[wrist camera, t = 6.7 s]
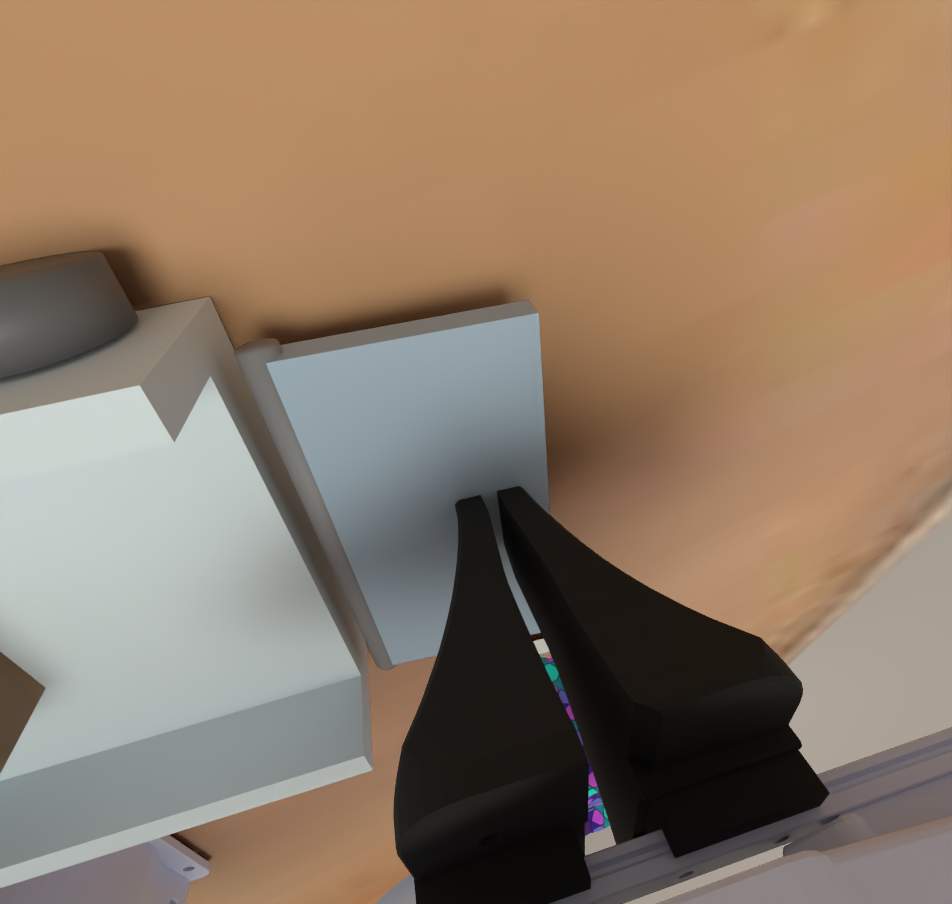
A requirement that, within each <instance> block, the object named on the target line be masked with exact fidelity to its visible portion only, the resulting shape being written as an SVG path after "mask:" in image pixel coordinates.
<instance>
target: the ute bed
mask: <svg viewBox="0 0 952 904" xmlns="http://www.w3.org/2000/svg"><path fill="white" fill-rule="evenodd" d="M0 652H2V653H3V654H4V655H5V656H7V657H8V658H9V659H10V660H12V661H13V662H14V663H15V664H17V665H18V666H19V667H20V668H22V669H23V670H24V671H25V672H27V673H28V674H29V675H30V676H32V677H33V678H34V679H35V680H37V681H38V682H39V683H40V684H42V685H43V686H44V687H45V688H46V689H45V690H44V692H43V694H42V696H41V698H40V700H39V702H38V704H37V706H36V707H35V709H34V711H33V713H32V715H31V717H30V719H29V721H28V723H27V724H26V726H25V728H24V730H23V732H22V734H21V736H20V738H19V739H18V741H17V743H16V745H15V747H14V749H13V751H12V753H11V755H10V756H9V758H8V760H7V762H6V764H5V766H4V768H3V770H2V772H1V773H0V888H3V887H6V886H9V885H12V884H15V883H18V882H22V881H25V880H28V879H31V878H34V877H37V876H40V875H44V874H47V873H50V872H53V871H56V870H59V869H63V868H66V867H69V866H72V865H75V864H78V863H82V862H85V861H88V860H91V859H94V858H97V857H100V856H104V855H107V854H110V853H113V852H116V851H119V850H123V849H126V848H129V847H132V846H135V845H138V844H142V843H145V842H148V841H151V840H154V839H157V838H161V837H164V836H167V835H170V834H173V833H176V832H179V831H183V830H186V829H189V828H192V827H195V826H198V825H202V824H205V823H208V822H211V821H214V820H217V819H221V818H224V817H227V816H230V815H233V814H236V813H240V812H243V811H246V810H249V809H252V808H255V807H258V806H262V805H265V804H268V803H271V802H274V801H277V800H281V799H284V798H287V797H290V796H293V795H296V794H300V793H303V792H306V791H309V790H312V789H315V788H319V787H322V786H325V785H328V784H331V783H334V782H337V781H341V780H344V779H347V778H350V777H353V776H356V775H360V774H363V773H366V772H369V771H372V770H373V761H372V741H371V721H370V701H369V681H368V661H367V644H366V641H365V639H364V637H363V635H362V633H361V631H360V628H359V626H358V624H357V622H356V620H355V617H354V615H353V613H352V611H351V609H350V607H349V604H348V602H347V600H346V598H345V596H344V593H343V591H342V589H341V587H340V585H339V583H338V580H337V578H336V576H335V574H334V572H333V569H332V567H331V565H330V563H329V561H328V558H327V556H326V554H325V552H324V550H323V548H322V545H321V543H320V541H319V539H318V537H317V534H316V532H315V530H314V528H313V526H312V524H311V521H310V519H309V517H308V515H307V513H306V510H305V508H304V506H303V504H302V502H301V500H300V497H299V495H298V493H297V491H296V489H295V486H294V484H293V482H292V480H291V478H290V475H289V473H288V471H287V469H286V467H285V465H284V462H283V460H282V458H281V456H280V454H279V451H278V449H277V447H276V445H275V443H274V441H273V438H272V436H271V434H270V432H269V430H268V427H267V425H266V423H265V421H264V419H263V417H262V414H261V412H260V410H259V408H258V406H257V403H256V401H255V399H254V397H253V395H252V392H251V390H250V388H249V386H248V384H247V382H246V379H245V377H244V375H243V373H242V371H241V368H240V366H239V364H238V362H237V360H236V358H235V355H234V348H233V346H232V344H231V342H230V340H229V337H228V335H227V333H226V331H225V329H224V326H223V324H222V322H221V320H220V318H219V315H218V313H217V311H216V309H215V307H214V304H213V302H212V300H211V298H210V297H205V298H200V299H195V300H190V301H185V302H180V303H174V304H169V305H164V306H159V307H154V308H149V309H144V310H138V311H135V310H134V309H133V307H132V305H131V303H130V301H129V300H128V298H127V296H126V294H125V292H124V291H123V289H122V287H121V285H120V283H119V282H118V280H117V278H116V276H115V274H114V273H113V271H112V269H111V267H110V265H109V264H108V262H107V260H106V258H105V256H104V255H103V253H102V252H99V251H85V252H75V253H67V254H60V255H54V256H48V257H42V258H37V259H31V260H26V261H21V262H17V263H12V264H7V265H3V266H0Z"/></svg>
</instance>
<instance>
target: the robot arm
mask: <svg viewBox="0 0 952 904" xmlns="http://www.w3.org/2000/svg"><path fill="white" fill-rule="evenodd" d="M497 497H498V504H499V511H500V518H501V526H502V533H503V540H504V546H505V549H506V552H507V555H508V558H509V561H510V564H511V567H512V570H513V573H514V576H515V578H516V580H517V583H518V585H519V587H520V589H521V591H522V593H523V596H524V598H525V600H526V602H527V604H528V606H529V608H530V610H531V613H532V615H533V617H534V619H535V621H536V623H537V625H538V627H539V630H540V632H541V634H542V636H543V638H544V640H545V642H546V644H547V647H548V649H549V651H550V654H551V656H552V658H553V661H554V663H555V666H556V668H557V671H558V674H559V677H560V679H561V682H562V685H563V688H564V690H565V693H566V696H567V699H568V702H569V705H570V707H571V710H572V713H573V716H574V719H575V722H576V725H577V727H578V730H579V733H580V736H581V739H582V742H583V745H584V748H585V751H586V754H587V757H588V760H589V763H590V765H591V768H592V771H593V774H594V777H595V780H596V783H597V786H598V789H599V792H600V796H601V799H602V802H603V805H604V808H605V811H606V814H607V817H608V820H609V823H610V826H611V829H612V832H613V835H614V839H615V842H616V845H615V846H612V847H609V848H606V849H603V850H601V851H598V852H595V853H592V854H589V855H586V856H585V823H586V822H588V791H589V763H588V760H587V757H586V754H585V752H584V749H583V746H582V744H581V741H580V739H579V736H578V734H577V731H576V728H575V726H574V724H573V723H572V721H571V719H570V717H569V715H568V713H567V711H566V709H565V707H564V705H563V703H562V701H561V699H560V697H559V695H558V693H557V691H556V689H555V687H554V685H553V683H552V681H551V679H550V676H549V674H548V672H547V670H546V668H545V666H544V664H543V662H542V659H541V657H540V655H539V653H538V651H537V649H536V646H535V644H534V642H533V640H532V638H531V635H530V633H529V631H528V628H527V626H526V624H525V622H524V619H523V617H522V615H521V612H520V610H519V608H518V605H517V603H516V600H515V598H514V596H513V593H512V591H511V588H510V586H509V584H508V581H507V578H506V575H505V572H504V568H503V564H502V561H501V557H500V553H499V549H498V545H497V541H496V537H495V534H494V530H493V526H492V522H491V518H490V515H489V511H488V509H487V507H486V505H485V503H484V501H483V499H482V497H481V495H478V496H474V497H470V498H466V499H462V500H458V502H457V503H456V504H455V509H456V513H457V518H458V551H457V564H456V572H455V579H454V586H453V593H452V598H451V603H450V608H449V613H448V617H447V622H446V626H445V630H444V633H443V637H442V641H441V644H440V648H439V651H438V655H437V658H436V661H435V664H434V667H433V670H432V673H431V676H430V678H429V681H428V684H427V687H426V690H425V693H424V695H423V698H422V701H421V703H420V706H419V708H418V711H417V713H416V715H415V718H414V720H413V722H412V725H411V727H410V729H409V732H408V734H407V736H406V739H405V741H404V743H403V746H402V750H401V755H400V761H399V767H398V772H397V779H396V786H395V795H394V829H395V842H396V850H397V854H398V856H399V858H400V859H401V861H402V862H403V863H404V865H405V866H406V868H407V869H408V870H409V872H410V873H411V875H412V876H413V877H414V883H415V894H416V904H623V903H626V902H629V901H632V900H634V899H637V898H640V897H643V896H645V895H648V894H651V893H654V892H656V891H659V890H662V889H664V888H667V887H670V886H673V885H675V884H678V883H681V882H683V881H686V880H689V879H692V878H694V877H697V876H700V875H703V874H705V873H708V872H711V871H714V870H716V869H719V868H722V867H724V866H727V865H730V864H732V863H735V862H738V861H741V860H744V859H746V858H749V857H752V856H754V855H757V854H760V853H762V852H765V851H768V850H771V849H773V848H776V847H779V846H782V845H784V844H787V843H790V842H792V843H790V844H788V845H786V846H785V847H784V848H783V857H781V858H778V859H776V860H773V861H771V862H768V863H765V864H762V865H759V866H757V867H754V868H751V869H749V870H746V871H743V872H741V873H738V874H735V875H733V876H730V877H727V878H724V879H722V880H719V881H717V882H714V883H711V884H708V885H705V886H703V887H700V888H697V889H695V890H692V891H689V892H686V893H684V894H681V895H678V896H676V897H673V898H670V899H668V900H665V901H662V902H660V903H657V904H952V727H951V728H948V729H945V730H942V731H939V732H937V733H934V734H931V735H928V736H925V737H922V738H919V739H917V740H914V741H911V742H908V743H905V744H902V745H899V746H897V747H894V748H891V749H888V750H885V751H882V752H880V753H877V754H874V755H871V756H868V757H865V758H863V759H860V760H857V761H854V762H851V763H848V764H845V765H843V766H840V767H837V768H834V769H831V770H828V771H826V772H823V773H820V774H817V775H816V773H815V772H814V771H813V769H812V768H811V767H810V765H809V764H808V763H807V761H806V760H805V758H804V757H803V756H802V754H801V753H800V752H799V750H798V749H800V748H801V747H802V744H801V742H800V740H799V738H798V737H797V736H796V734H795V733H794V732H793V730H792V729H791V728H790V726H789V725H788V724H789V722H790V720H791V719H792V716H793V715H794V713H795V711H796V709H797V707H798V705H799V703H800V701H801V697H802V694H803V688H802V683H801V681H800V680H799V679H798V678H797V676H796V675H795V674H794V673H793V672H792V671H791V669H790V668H789V667H788V666H787V664H786V663H785V662H784V661H783V660H782V659H781V658H780V657H779V656H778V654H777V653H775V652H774V651H773V650H772V649H771V648H770V647H769V646H768V645H767V644H766V643H765V642H764V641H763V640H762V638H760V637H757V636H755V635H752V634H750V633H747V632H745V631H742V630H740V629H737V628H734V627H732V626H729V625H727V624H724V623H722V622H719V621H717V620H714V619H712V618H709V617H707V616H705V615H703V614H701V613H698V612H696V611H694V610H692V609H690V608H688V607H685V606H683V605H682V604H680V603H678V602H676V601H674V600H672V599H670V598H668V597H666V596H664V595H662V594H661V593H659V592H657V591H655V590H653V589H651V588H649V587H647V586H646V585H644V584H642V583H641V582H639V581H637V580H636V579H634V578H632V577H631V576H629V575H627V574H626V573H624V572H623V571H621V570H620V569H618V568H617V567H615V566H614V565H612V564H611V563H609V562H608V561H606V560H605V559H603V558H602V557H601V556H599V555H598V554H597V553H595V552H594V551H593V550H591V549H590V548H589V547H587V546H586V545H585V544H583V543H582V542H581V541H580V540H578V539H577V538H576V537H575V536H573V535H572V534H571V533H570V532H569V531H568V530H566V529H565V528H564V527H563V526H562V525H561V524H559V523H558V522H557V521H556V520H555V519H554V518H553V517H552V516H550V515H549V514H548V513H547V512H546V511H545V510H544V509H543V508H542V507H541V506H540V505H539V504H538V503H537V502H536V501H535V500H534V499H533V498H532V497H531V496H530V495H529V494H528V493H527V492H526V491H525V490H524V488H522V487H520V486H516V487H512V488H508V489H503V490H499V491H497ZM793 841H794V842H793ZM210 867H211V864H210V862H208V861H207V860H205V859H204V858H202V857H201V856H199V855H198V854H197V853H195V852H194V851H192V850H191V849H189V848H188V847H186V846H185V845H183V844H182V843H180V842H179V841H177V840H176V839H174V838H173V837H172V836H170V835H167V836H164V837H161V838H157V839H154V840H151V841H148V842H145V843H142V844H138V845H135V846H132V847H129V848H126V849H123V850H119V851H116V852H113V853H110V854H107V855H104V856H100V857H97V858H94V859H91V860H88V861H85V862H82V863H78V864H75V865H72V866H69V867H66V868H63V869H59V870H56V871H53V872H50V873H47V874H44V875H40V876H37V877H34V878H31V879H28V880H25V881H22V882H18V883H15V884H12V885H9V886H6V887H3V888H0V904H186V901H187V896H188V891H189V886H190V882H191V881H194V880H197V879H200V878H203V877H205V876H207V875H208V874H209V872H210Z"/></svg>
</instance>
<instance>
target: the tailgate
mask: <svg viewBox="0 0 952 904" xmlns="http://www.w3.org/2000/svg"><path fill="white" fill-rule="evenodd" d="M234 355H235V358H236V360H237V362H238V364H239V366H240V368H241V371H242V373H243V375H244V377H245V379H246V382H247V384H248V386H249V388H250V390H251V392H252V395H253V397H254V399H255V401H256V403H257V406H258V408H259V410H260V412H261V414H262V417H263V419H264V421H265V423H266V425H267V427H268V430H269V432H270V434H271V436H272V438H273V441H274V443H275V445H276V447H277V449H278V451H279V454H280V456H281V458H282V460H283V462H284V465H285V467H286V469H287V471H288V473H289V475H290V478H291V480H292V482H293V484H294V486H295V489H296V491H297V493H298V495H299V497H300V500H301V502H302V504H303V506H304V508H305V510H306V513H307V515H308V517H309V519H310V521H311V524H312V526H313V528H314V530H315V532H316V534H317V537H318V539H319V541H320V543H321V545H322V548H323V550H324V552H325V554H326V556H327V558H328V561H329V563H330V565H331V567H332V569H333V572H334V574H335V576H336V578H337V580H338V583H339V585H340V587H341V589H342V591H343V593H344V596H345V598H346V600H347V602H348V604H349V607H350V609H351V611H352V613H353V615H354V617H355V620H356V622H357V624H358V626H359V628H360V631H361V633H362V635H363V637H364V639H365V641H366V644H367V646H368V648H369V650H370V652H371V655H372V657H373V659H374V661H375V663H376V665H377V667H378V668H380V669H382V670H389V669H392V668H394V667H395V666H396V665H397V664H400V663H405V662H410V661H414V660H419V659H423V658H428V657H432V656H437V655H438V651H439V648H440V644H441V641H442V637H443V633H444V630H445V626H446V622H447V617H448V613H449V608H450V603H451V598H452V593H453V586H454V579H455V572H456V564H457V551H458V518H457V513H456V509H455V504H456V503H457V502H458V500H462V499H466V498H470V497H474V496H478V495H481V497H482V499H483V501H484V503H485V505H486V507H487V509H488V511H489V515H490V518H491V522H492V526H493V530H494V534H495V537H496V541H497V545H498V549H499V553H500V557H501V561H502V564H503V568H504V572H505V575H506V578H507V581H508V584H509V586H510V588H511V591H512V593H513V596H514V598H515V600H516V603H517V605H518V608H519V610H520V612H521V615H522V617H523V619H524V622H525V624H526V626H527V628H528V631H529V633H530V635H533V634H537V633H541V632H540V630H539V627H538V625H537V623H536V621H535V619H534V617H533V615H532V613H531V610H530V608H529V606H528V604H527V602H526V600H525V598H524V596H523V593H522V591H521V589H520V587H519V585H518V583H517V580H516V578H515V576H514V573H513V570H512V567H511V564H510V561H509V558H508V555H507V552H506V549H505V546H504V540H503V533H502V526H501V518H500V511H499V504H498V497H497V491H499V490H503V489H508V488H512V487H516V486H520V487H522V488H524V490H525V491H526V492H527V493H528V494H529V495H530V496H531V497H532V498H533V499H534V500H535V501H536V502H537V503H538V504H539V505H540V506H541V507H542V508H543V509H544V510H545V511H546V512H547V513H548V514H549V515H550V506H549V488H548V470H547V452H546V434H545V416H544V398H543V380H542V362H541V344H540V325H539V312H538V311H537V310H536V309H535V308H534V306H533V305H532V304H531V303H530V301H529V300H524V301H519V302H513V303H508V304H502V305H497V306H491V307H486V308H480V309H475V310H469V311H464V312H458V313H453V314H447V315H442V316H437V317H431V318H426V319H420V320H415V321H409V322H404V323H398V324H393V325H387V326H382V327H376V328H371V329H365V330H360V331H354V332H349V333H344V334H338V335H333V336H327V337H322V338H316V339H311V340H305V341H300V342H294V343H289V344H283V345H280V343H279V340H277V339H274V338H265V339H259V340H255V341H252V342H249V343H246V344H244V345H242V346H240V347H239V348H237V349H236V350H235V351H234Z"/></svg>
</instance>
